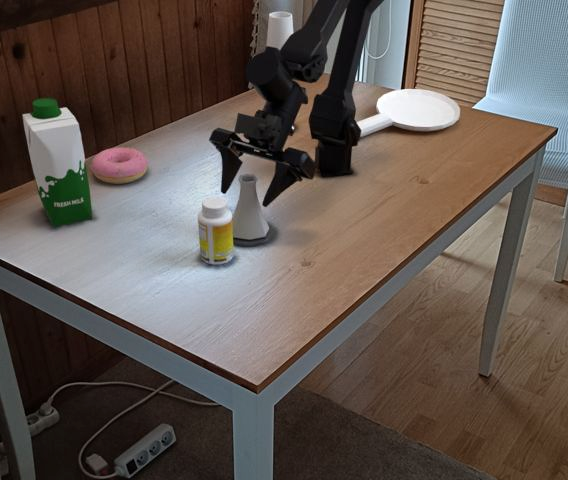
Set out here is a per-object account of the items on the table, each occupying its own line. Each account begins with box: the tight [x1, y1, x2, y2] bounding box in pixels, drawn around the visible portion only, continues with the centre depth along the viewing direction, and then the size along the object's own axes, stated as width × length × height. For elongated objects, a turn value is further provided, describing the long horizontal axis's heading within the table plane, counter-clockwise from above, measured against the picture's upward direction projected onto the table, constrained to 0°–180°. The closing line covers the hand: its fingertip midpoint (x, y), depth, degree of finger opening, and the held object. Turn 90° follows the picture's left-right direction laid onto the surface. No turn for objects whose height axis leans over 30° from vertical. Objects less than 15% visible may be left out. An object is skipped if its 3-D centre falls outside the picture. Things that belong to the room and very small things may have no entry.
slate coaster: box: [233, 222, 275, 248], centre depth 131 cm, size 9×9×1 cm
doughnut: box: [90, 146, 149, 185], centre depth 146 cm, size 11×11×4 cm
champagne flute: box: [265, 11, 295, 131], centre depth 160 cm, size 7×7×24 cm
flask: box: [232, 173, 269, 240], centre depth 127 cm, size 7×7×10 cm
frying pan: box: [356, 88, 461, 139], centre depth 167 cm, size 35×19×5 cm, turn 128°
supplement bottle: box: [197, 196, 234, 265], centre depth 121 cm, size 6×6×10 cm
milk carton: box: [22, 97, 93, 228], centre depth 129 cm, size 9×9×20 cm
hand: (243, 199), depth 125 cm, fingers open, 8 cm apart
